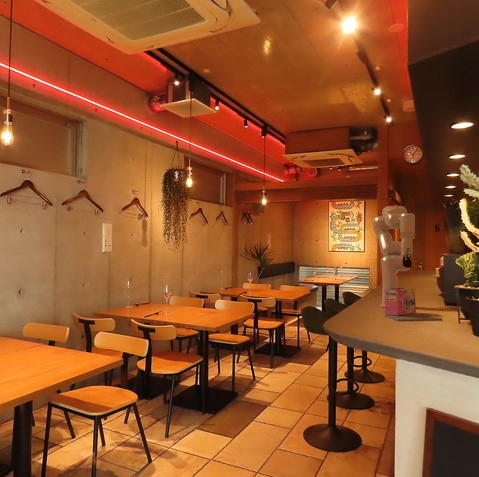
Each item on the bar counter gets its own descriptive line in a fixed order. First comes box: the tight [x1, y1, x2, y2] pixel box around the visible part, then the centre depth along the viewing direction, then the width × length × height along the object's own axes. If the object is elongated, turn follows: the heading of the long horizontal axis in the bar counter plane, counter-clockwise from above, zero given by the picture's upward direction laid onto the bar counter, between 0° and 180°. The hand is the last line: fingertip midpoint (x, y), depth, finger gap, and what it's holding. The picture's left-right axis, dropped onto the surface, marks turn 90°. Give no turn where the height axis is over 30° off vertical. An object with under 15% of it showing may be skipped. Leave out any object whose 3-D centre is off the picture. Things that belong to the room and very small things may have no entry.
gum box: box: [384, 287, 417, 316], centre depth 226 cm, size 24×8×14 cm, turn 135°
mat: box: [383, 313, 443, 322], centre depth 214 cm, size 14×24×1 cm, turn 98°
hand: (406, 266), depth 226 cm, fingers open, 9 cm apart
